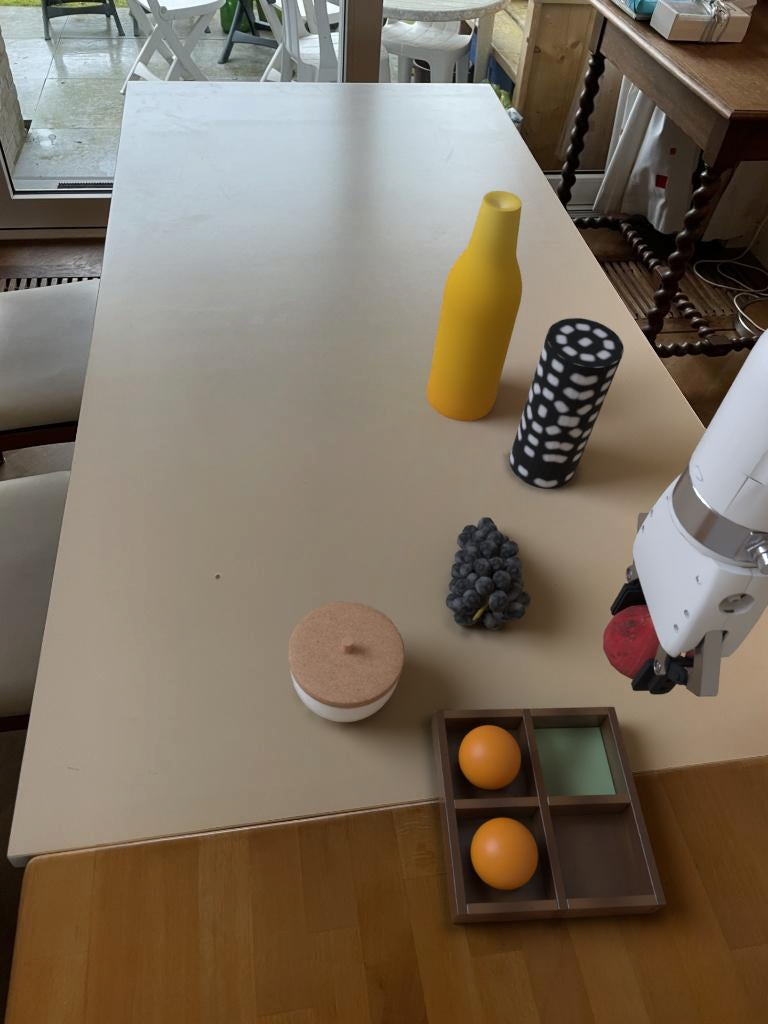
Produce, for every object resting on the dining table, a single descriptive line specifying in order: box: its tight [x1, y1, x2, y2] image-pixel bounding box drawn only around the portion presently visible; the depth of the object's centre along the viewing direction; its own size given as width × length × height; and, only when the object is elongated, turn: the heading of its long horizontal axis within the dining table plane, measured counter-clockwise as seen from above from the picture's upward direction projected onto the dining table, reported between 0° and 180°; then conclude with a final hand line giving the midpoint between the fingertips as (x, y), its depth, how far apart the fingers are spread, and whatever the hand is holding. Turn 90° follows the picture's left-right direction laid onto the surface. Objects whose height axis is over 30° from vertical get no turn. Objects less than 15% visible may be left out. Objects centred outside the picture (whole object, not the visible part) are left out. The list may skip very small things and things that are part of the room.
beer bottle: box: [426, 190, 523, 422], centre depth 95 cm, size 9×9×29 cm
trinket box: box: [287, 600, 406, 723], centre depth 74 cm, size 11×11×9 cm
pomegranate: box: [602, 605, 682, 680], centre depth 61 cm, size 6×6×8 cm
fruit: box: [445, 516, 532, 631], centre depth 84 cm, size 9×8×15 cm
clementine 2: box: [471, 818, 538, 890], centre depth 66 cm, size 6×6×6 cm
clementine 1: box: [459, 725, 521, 790], centre depth 71 cm, size 6×6×6 cm
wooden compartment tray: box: [430, 706, 667, 925], centre depth 70 cm, size 17×17×4 cm
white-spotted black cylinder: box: [508, 317, 625, 490], centre depth 92 cm, size 8×8×20 cm
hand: (639, 647), depth 62 cm, fingers closed on pomegranate, 5 cm apart
